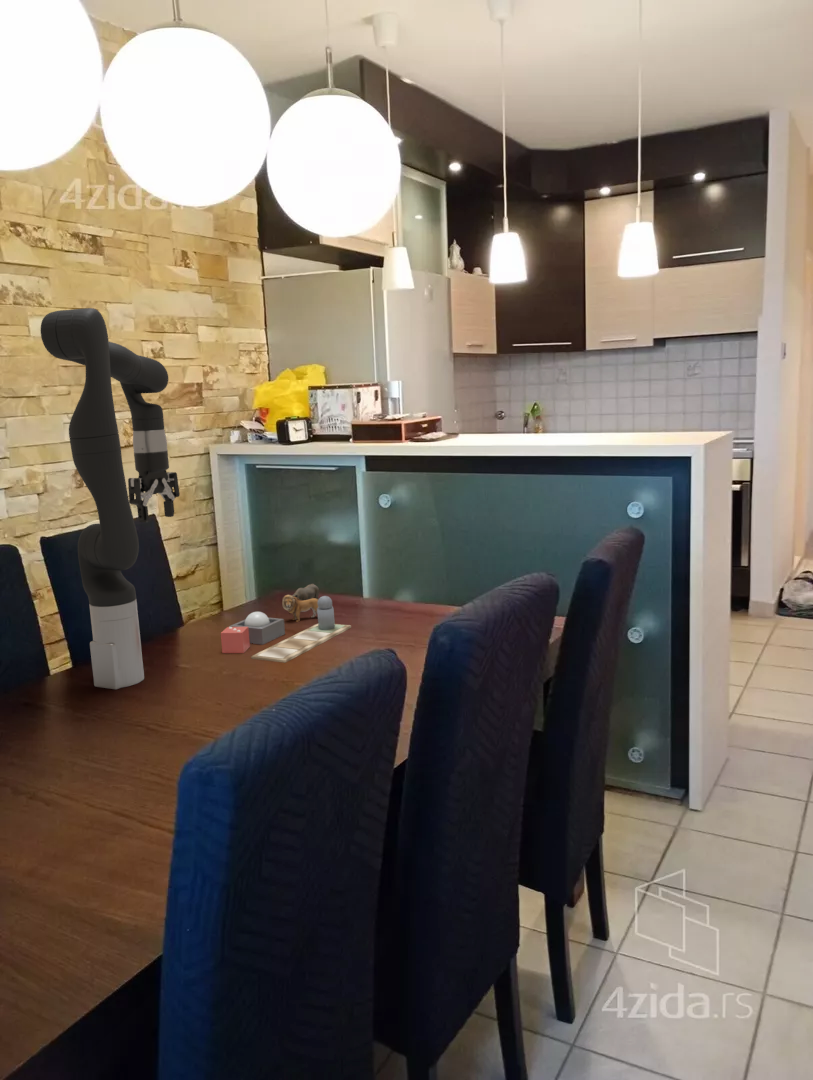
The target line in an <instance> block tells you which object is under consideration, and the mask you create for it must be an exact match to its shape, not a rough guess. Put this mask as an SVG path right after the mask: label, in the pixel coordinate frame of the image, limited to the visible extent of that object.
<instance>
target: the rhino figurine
mask: <svg viewBox="0 0 813 1080" xmlns="http://www.w3.org/2000/svg"><path fill="white" fill-rule="evenodd" d="M290 595H291V594H290ZM319 595H320V589H319V587H318V586H317V585H316V584H314V583H310V584H307V585H306V586H305V587H299V588H297V589H296V590H295V592H294V593H293V594H292V595H291V596H293V597H297V598H299V599H300V600H302V601H303V600H308V599H312V598H316V599H318V600H319Z"/></svg>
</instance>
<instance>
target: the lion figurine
mask: <svg viewBox="0 0 813 1080" xmlns="http://www.w3.org/2000/svg"><path fill="white" fill-rule="evenodd" d="M318 600H319V598H318V599H316V598H312V599H308V600H303V601H302V600H300V599H299V598H297V597H293V596H291V594H286V595H284V596H283V597H282V601H281V603H282V608H283V610H285V611H287V612H288V613H290V614H292V616H293V618H292V621H295V622H297V623H298V622H300V621H301V618H300V615H301V613H304V612H308V611H310V610H312V613H313V614H312V615H310V618H315V617H316V616H317V615H318V614H317V608H318V604H317V603H318Z"/></svg>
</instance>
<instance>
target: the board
mask: <svg viewBox="0 0 813 1080" xmlns="http://www.w3.org/2000/svg"><path fill="white" fill-rule="evenodd" d="M350 629H352V625H350V624H340V623H335V628H334V629H331V630H320V629H319V627H318V623H316V624H313V625H312V626H310V627H308V628H306V629H304V630H302V631H300V632H297V633H296V634H294V635H292V636H289V637H288V638H286V639H283V640H281V641H280V642H277V643H276V644H273V645H271V646H270V647H267V648H265V649H264V650H260V651H258V652H257V653H255V654H253V655H252V656H250V658H251V659H252V660H260V661H267V662H275V663H284V664H285V663H288V662H290V661H291V660H293V659H295V658H296V657H299V656H301V655H303V654H304V653H306V652H308V651H310V650H312V649H314V648H316V647H317V646H319V645H321V644H323V643H325V642H327V641H329V640H330V639H332V638H334V637H336V636H338V635H341V634H342V633H344V632H346V631H348V630H350Z"/></svg>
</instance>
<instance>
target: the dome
mask: <svg viewBox="0 0 813 1080" xmlns="http://www.w3.org/2000/svg"><path fill="white" fill-rule="evenodd" d="M269 618H270V617H268V615H267V614H266V613H264V612H262V611H252V612H251V613H249V614H248V615H247V616H246V618H245V619H246V620H245V619H244V620H245V626H250V627H260V628H261V627H263V626H265V625H268V624H270V621H269Z"/></svg>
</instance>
